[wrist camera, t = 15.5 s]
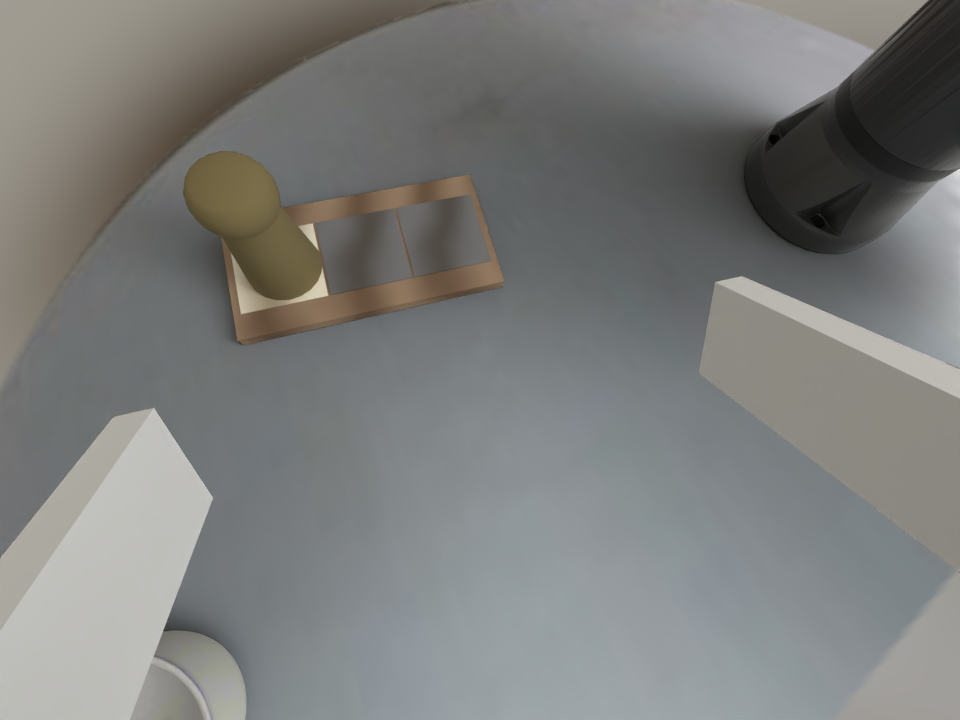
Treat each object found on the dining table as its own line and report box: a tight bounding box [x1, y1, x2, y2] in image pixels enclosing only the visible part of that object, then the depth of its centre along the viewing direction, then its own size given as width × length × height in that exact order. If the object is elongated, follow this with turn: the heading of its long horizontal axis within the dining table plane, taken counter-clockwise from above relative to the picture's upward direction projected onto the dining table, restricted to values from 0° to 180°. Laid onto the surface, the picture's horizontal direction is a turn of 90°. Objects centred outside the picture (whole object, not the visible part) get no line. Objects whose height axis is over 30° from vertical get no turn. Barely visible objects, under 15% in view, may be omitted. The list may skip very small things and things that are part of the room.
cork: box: [183, 151, 322, 300], centre depth 30 cm, size 6×6×11 cm
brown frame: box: [221, 175, 504, 345], centre depth 37 cm, size 22×11×1 cm, turn 106°
